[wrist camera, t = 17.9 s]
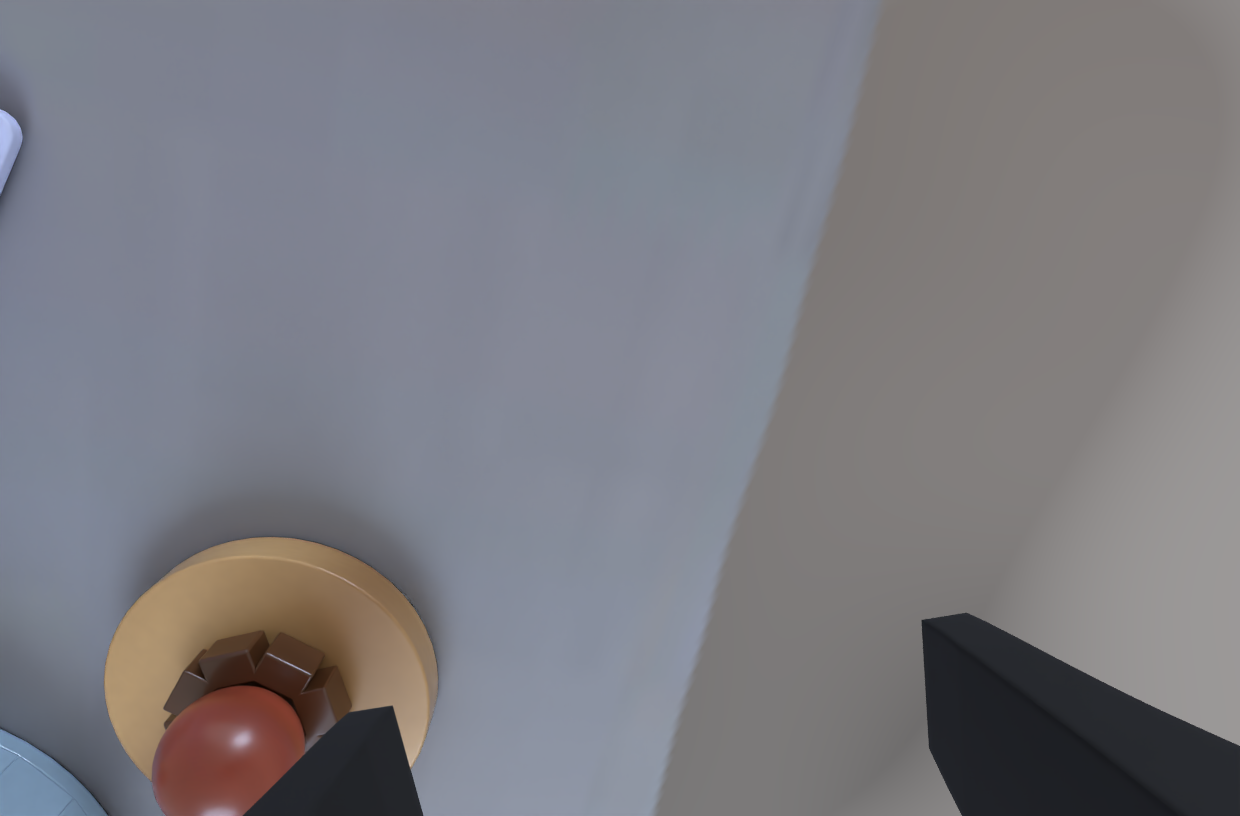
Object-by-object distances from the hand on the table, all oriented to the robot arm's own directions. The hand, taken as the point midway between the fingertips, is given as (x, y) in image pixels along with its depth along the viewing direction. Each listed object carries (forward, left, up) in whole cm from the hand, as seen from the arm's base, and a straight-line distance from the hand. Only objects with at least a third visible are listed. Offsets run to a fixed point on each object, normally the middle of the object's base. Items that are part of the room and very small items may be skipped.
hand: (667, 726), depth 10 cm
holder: (-5, -10, -10) cm, 15 cm away
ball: (-5, -10, -7) cm, 13 cm away
